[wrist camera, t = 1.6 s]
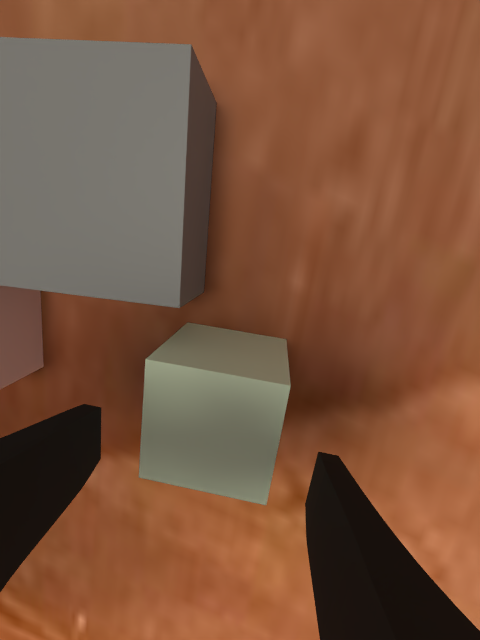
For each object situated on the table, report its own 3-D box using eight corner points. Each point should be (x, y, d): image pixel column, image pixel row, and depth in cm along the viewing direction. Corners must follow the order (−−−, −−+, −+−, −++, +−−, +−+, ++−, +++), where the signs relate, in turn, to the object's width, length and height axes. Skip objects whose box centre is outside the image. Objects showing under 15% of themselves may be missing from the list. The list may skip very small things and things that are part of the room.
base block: (205, 291, 15) (179, 307, 11) (56, 273, 15) (-19, 283, 11) (217, 105, 12) (191, 44, 9) (44, 95, 13) (-52, 35, 9)
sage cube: (269, 425, 16) (266, 505, 11) (179, 408, 16) (138, 477, 11) (286, 338, 14) (290, 385, 10) (188, 322, 15) (145, 359, 10)
